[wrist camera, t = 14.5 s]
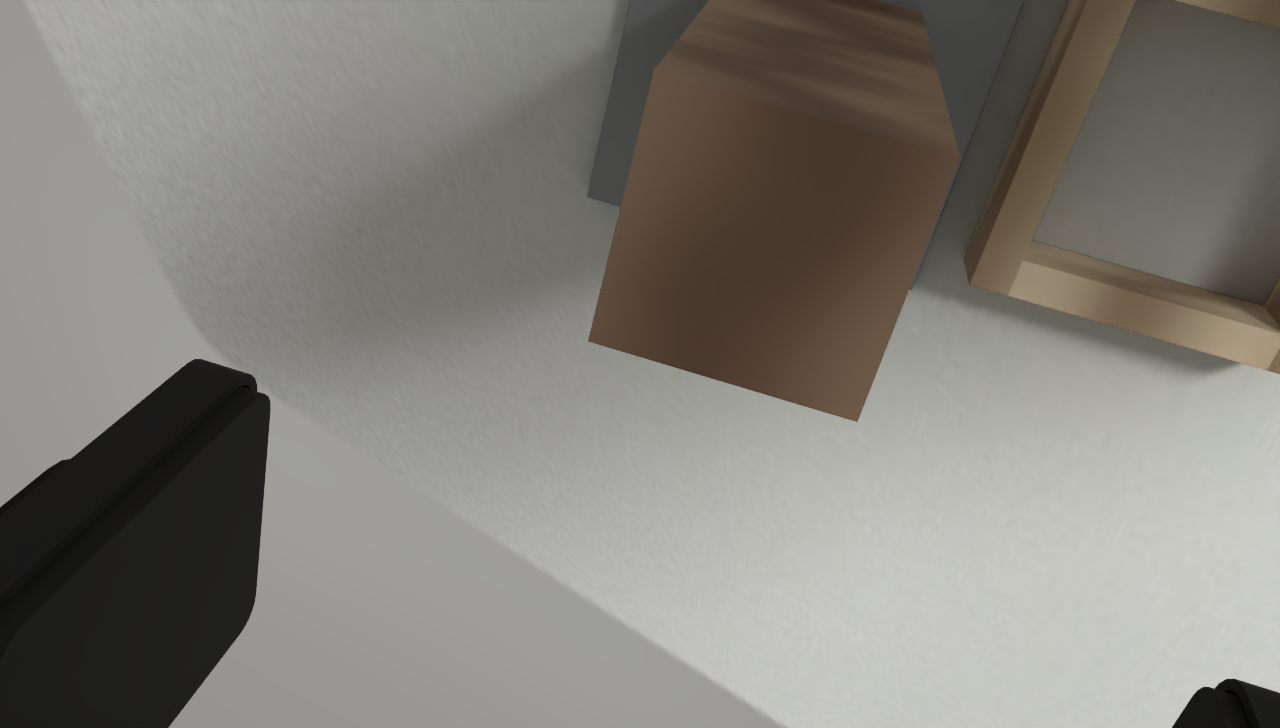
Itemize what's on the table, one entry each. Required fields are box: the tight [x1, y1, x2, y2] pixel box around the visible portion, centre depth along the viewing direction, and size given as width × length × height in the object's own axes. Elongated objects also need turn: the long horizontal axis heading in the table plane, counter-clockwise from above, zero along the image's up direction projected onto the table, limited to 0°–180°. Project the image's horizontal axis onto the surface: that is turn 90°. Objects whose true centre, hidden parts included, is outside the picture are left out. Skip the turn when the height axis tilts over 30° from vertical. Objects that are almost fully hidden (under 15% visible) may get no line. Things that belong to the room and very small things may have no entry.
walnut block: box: [588, 0, 961, 422], centre depth 27 cm, size 6×6×15 cm
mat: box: [587, 0, 1024, 290], centre depth 34 cm, size 11×11×1 cm
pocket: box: [964, 0, 1280, 374], centre depth 32 cm, size 10×10×2 cm
